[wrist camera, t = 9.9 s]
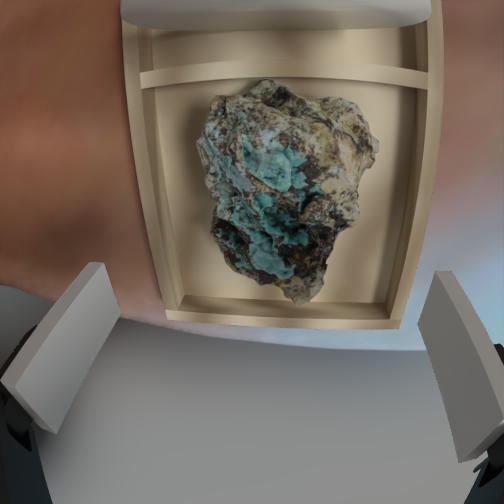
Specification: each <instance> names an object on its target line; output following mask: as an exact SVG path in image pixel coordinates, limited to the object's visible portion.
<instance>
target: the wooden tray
mask: <svg viewBox="0 0 504 504" xmlns="http://www.w3.org/2000/svg"><path fill="white" fill-rule="evenodd" d="M431 9H432V13H431V16H430V17H429V18H428V19H427V20H425V21H423V22H421V23H418V24H414V25H409V26H403V27H395V28H380V29H342V30H204V31H201V30H163V29H151V28H144V27H138V26H135V25H131V24H129V23H127V22H125V21H124V20H123V19H122V37H123V56H124V70H125V83H126V94H127V104H128V113H129V122H130V130H131V138H132V145H133V152H134V159H135V166H136V172H137V179H138V185H139V191H140V196H141V202H142V207H143V213H144V218H145V223H146V228H147V233H148V238H149V243H150V248H151V252H152V257H153V261H154V266H155V270H156V275H157V279H158V283H159V287H160V291H161V295H162V299H163V303H164V307H165V311H166V315H167V319H171V320H180V321H191V322H202V323H214V324H228V325H242V326H259V327H278V328H304V329H399V326H400V323H401V320H402V317H403V314H404V311H405V308H406V304H407V301H408V298H409V294H410V291H411V287H412V284H413V280H414V276H415V273H416V269H417V265H418V261H419V257H420V253H421V249H422V244H423V240H424V235H425V231H426V226H427V221H428V216H429V211H430V206H431V200H432V194H433V188H434V182H435V175H436V168H437V161H438V152H439V143H440V134H441V122H442V108H443V86H444V41H443V20H442V7H441V0H431ZM262 79H270V80H273V81H276V82H279V83H283V84H285V85H287V86H289V89H290V90H292V91H293V92H294V93H296V94H298V95H300V96H303V97H307V98H324V97H328V96H330V97H342V98H344V99H346V100H348V101H350V102H353V103H356V104H357V105H358V107H359V108H360V110H361V112H362V114H363V116H364V119H365V120H366V121H367V122H368V123H369V127H370V131H371V134H372V136H373V137H375V138H376V139H377V140H378V141H379V152H378V153H375V160H376V161H375V163H374V164H373V165H372V167H371V168H370V169H367V168H366V170H365V171H364V173H363V175H362V176H361V180H360V183H359V186H358V189H357V191H358V194H359V198H358V201H357V204H358V205H359V208H358V209H359V212H360V215H359V218H358V221H357V223H356V224H355V226H354V227H353V228H348V229H346V230H344V231H342V232H340V233H339V235H338V237H337V239H336V242H335V243H334V244H335V245H334V246H333V251H332V253H331V254H330V256H329V258H328V259H327V261H326V264H328V266H327V270H326V274H325V275H324V276H323V278H324V285H325V286H322V288H321V290H320V292H319V293H318V294H317V295H316V296H315V297H313V298H312V299H311V301H310V302H309V303H307V304H304V305H301V306H298V307H296V306H295V304H294V303H293V301H292V300H288V299H287V298H286V297H285V296H284V293H283V290H281V289H280V288H278V287H276V286H275V285H263V286H262V287H261V286H260V285H258V284H257V282H256V281H255V280H254V279H251V278H248V277H247V276H244V275H241V274H239V273H236V272H234V271H233V270H232V269H231V268H230V267H229V266H228V265H227V264H226V262H225V259H224V254H222V253H221V251H220V249H219V246H218V244H217V243H216V242H214V237H213V236H212V235H211V234H210V228H211V226H212V225H211V221H212V218H213V210H214V208H215V206H216V203H215V201H214V200H212V199H211V198H210V189H209V188H208V187H207V185H206V183H205V175H206V170H205V168H204V167H203V164H202V161H201V159H200V156H199V153H198V150H197V144H196V141H197V139H198V138H199V137H200V136H201V135H202V129H203V125H204V122H205V119H206V117H207V115H208V113H209V111H210V107H209V105H210V104H211V102H212V100H213V98H214V96H215V95H232V96H234V95H243V94H245V93H247V92H249V91H250V90H252V89H253V88H254V87H255V86H256V84H257V83H258V81H259V80H262Z"/></svg>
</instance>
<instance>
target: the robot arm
mask: <svg viewBox="0 0 504 504" xmlns="http://www.w3.org/2000/svg"><path fill="white" fill-rule="evenodd" d="M120 314H121V312H120V309H119V306H118V304H117V301H116V298H115V295H114V292H113V289H112V286H111V283H110V280H109V277H108V274H107V271H106V268H105V265H104V263H102V262H89V263H88V264H87V265H86V266H85V268H84V269H83V270H82V271H81V272H80V274H79V275H78V276H77V277H76V278H75V279H74V281H73V282H72V283H71V284H70V286H69V287H68V288H67V289H66V290H65V292H64V293H63V294H62V295H61V297H60V298H59V299H58V300H57V302H56V303H55V304H54V306H53V307H52V308H51V309H50V311H49V312H48V313H47V314H46V316H45V317H44V318H43V320H42V321H41V322H40V324H39V325H36V326H34V327H33V328H32V329H31V330H30V331H29V332H27V333H26V334H25V335H24V337H23V338H22V340H21V341H20V342H19V345H17V346H16V348H15V349H14V352H12V353H11V355H10V356H9V358H8V359H7V361H6V362H5V364H4V365H3V367H2V368H1V370H0V504H53V503H52V500H51V497H50V494H49V490H48V487H47V484H46V480H45V476H44V473H43V469H42V465H41V461H40V457H39V452H38V448H37V443H36V438H35V433H34V430H33V427H32V426H31V425H30V424H31V422H32V420H34V421H35V422H36V423H37V424H38V425H39V426H40V427H41V428H43V429H45V430H47V431H50V432H52V433H54V434H57V432H58V430H59V427H60V426H61V423H62V421H63V419H64V417H65V415H66V413H67V411H68V409H69V407H70V405H71V403H72V401H73V399H74V397H75V395H76V393H77V392H78V390H79V388H80V386H81V384H82V382H83V380H84V378H85V376H86V374H87V373H88V371H89V369H90V367H91V365H92V363H93V361H94V360H95V358H96V356H97V354H98V352H99V351H100V349H101V347H102V345H103V343H104V342H105V340H106V338H107V336H108V335H109V333H110V331H111V329H112V328H113V326H114V324H115V323H116V321H117V319H118V318H119V316H120ZM418 327H419V330H420V332H421V335H422V338H423V340H424V343H425V346H426V349H427V351H428V354H429V357H430V361H431V363H432V367H433V369H434V372H435V375H436V379H437V382H438V385H439V389H440V392H441V395H442V398H443V402H444V406H445V409H446V413H447V416H448V420H449V424H450V428H451V432H452V436H453V440H454V444H455V449H456V453H457V457H458V462H459V463H462V462H465V461H469V460H472V459H476V458H478V457H479V456H480V455H481V454H483V452H485V451H486V450H487V453H488V457H487V458H486V459H485V460H484V461H483V462H481V463H480V464H479V465H478V466H477V467H476V468H475V469H474V471H473V472H474V473H475V472H477V471H478V470H479V469H481V470H480V472H479V474H478V476H477V478H476V481H475V483H474V485H473V487H472V489H471V491H470V493H469V495H468V497H467V498H466V500H465V502H464V504H504V347H503V346H502V345H501V344H493V343H492V341H491V339H490V337H489V335H488V333H487V331H486V329H485V328H484V326H483V324H482V322H481V320H480V318H479V317H478V315H477V313H476V311H475V309H474V308H473V306H472V304H471V302H470V301H469V299H468V297H467V296H466V294H465V292H464V291H463V289H462V287H461V286H460V284H459V282H458V281H457V279H456V278H455V276H454V274H453V273H452V271H435V273H434V276H433V280H432V283H431V286H430V289H429V292H428V295H427V298H426V301H425V304H424V307H423V310H422V313H421V316H420V318H419V321H418Z"/></svg>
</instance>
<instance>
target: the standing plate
mask: <svg viewBox="0 0 504 504" xmlns="http://www.w3.org/2000/svg"><path fill="white" fill-rule="evenodd" d="M120 13H121V17H122V19H123V20H124V21H125V22H127V23H129V24H131V25H135V26H138V27H144V28H151V29H163V30H201V31H204V30H342V29H380V28H395V27H403V26H409V25H414V24H418V23H421V22H423V21H425V20H427V19H428V18H429V17H430V16H431V13H432V9H431V0H120Z"/></svg>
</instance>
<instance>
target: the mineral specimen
mask: <svg viewBox="0 0 504 504" xmlns="http://www.w3.org/2000/svg"><path fill="white" fill-rule="evenodd" d="M209 107H210V111H209V113H208V115H207V117H206V119H205V122H204V125H203V129H202V135H201V136H200V137H199V138H198V139H197V141H196V144H197V150H198V153H199V156H200V159H201V161H202V164H203V167H204V168H205V170H206V175H205V183H206V185H207V187H208V188H209V189H210V198H211V199H212V200H214V201H215V203H216V206H215V208H214V210H213V218H212V221H211V225H212V226H211V228H210V234H211V235H212V236H213V237H214V242H216V243H217V244H218V246H219V249H220V251H221V253H222V254H224V259H225V262H226V264H227V265H228V266H229V267H230V268H231V269H232V270H233V271H234V272H236V273H239V274H241V275H244V276H247V277H248V278H251V279H254V280H255V281H256V282H257V284H258V285H260V286H261V287H262V286H263V285H275V286H276V287H278V288H280V289H281V290H283V293H284V296H285V297H286V298H287V299H288V300H292V301H293V303H294V304H295V306H296V307H298V306H301V305H304V304H307V303H309V302H310V301H311V299H312V298H313V297H315V296H316V295H317V294H318V293H319V292H320V290H321V288H322V286H325V285H324V278H323V276H324V275H325V274H326V270H327V266H328V264H326V261H327V259H328V258H329V256H330V254H331V253H332V251H333V246H334V245H335V244H334V243H335V242H336V239H337V237H338V235H339V233H340V232H342V231H344V230H346V229H348V228H353V227H354V226H355V224H356V223H357V221H358V218H359V215H360V212H359V209H358V208H359V205H358V204H357V201H358V198H359V194H358V191H357V189H358V186H359V183H360V180H361V176H362V175H363V173H364V171H365V170H366V168H367V169H370V168H371V167H372V165H373V164H374V163H375V161H376V160H375V153H378V152H379V141H378V140H377V139H376V138H375V137H373V136H372V134H371V131H370V127H369V123H368V122H367V121H366V120H365V119H364V116H363V114H362V112H361V110H360V108H359V107H358V105H357V104H356V103H353V102H350V101H348V100H346V99H344V98H342V97H330V96H328V97H324V98H307V97H303V96H300V95H298V94H296V93H294V92H293V91H292V90H290V89H289V86H287V85H285V84H283V83H279V82H276V81H273V80H270V79H262V80H259V81H258V83H257V84H256V86H255V87H254V88H253V89H252V90H250V91H249V92H247V93H245V94H243V95H234V96H232V95H215V96H214V98H213V100H212V102H211V104H210V105H209Z"/></svg>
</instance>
